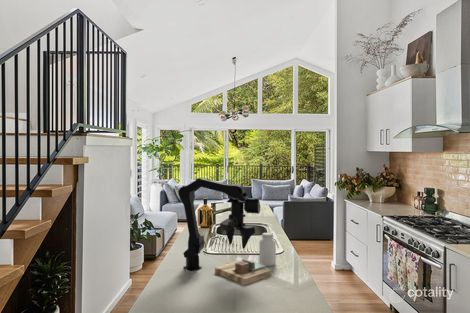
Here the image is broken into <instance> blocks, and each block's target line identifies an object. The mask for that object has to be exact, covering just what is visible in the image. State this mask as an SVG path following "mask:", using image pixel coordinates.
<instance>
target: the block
mask: <svg viewBox="0 0 470 313" xmlns="http://www.w3.org/2000/svg"><path fill="white" fill-rule="evenodd" d="M235 272H236V273H238V274H241V275H243V274H246V273H249V263H247V262H244V261H242V260H241V261H240V262H237V263H235Z"/></svg>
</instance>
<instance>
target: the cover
mask: <svg viewBox="0 0 470 313" xmlns="http://www.w3.org/2000/svg"><path fill="white" fill-rule="evenodd" d="M241 261H244V262H247V263H249V270H252V271H255V270H258V269H261V268H266V267H267V266H265V265H262V264H260V262H257V261H256V262H255V261H253V260H249V259H247V258H243V259H241Z"/></svg>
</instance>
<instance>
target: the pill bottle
mask: <svg viewBox="0 0 470 313" xmlns="http://www.w3.org/2000/svg"><path fill="white" fill-rule="evenodd" d="M261 237H262V238H261V239H259V264H262V265H265V266H266V267H272V266H275V265H276V263H277V258H276V257H277V254H276V252H277V248H276V245H277V244H276V240H275V239H274V234H273V233H272V232H263V233H262V234H261Z"/></svg>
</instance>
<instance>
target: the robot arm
mask: <svg viewBox="0 0 470 313" xmlns="http://www.w3.org/2000/svg"><path fill="white" fill-rule="evenodd" d="M201 188H204V189H207V190H212V191H216V192H220V193H224V194H225V195H226V196H228V197H229V198H228V200H226V203H231V204H230V205H231V206H230V207H231V209H230V213H229V215H228V218H226V219H224V220H223V221H221V222H220V223H219V227H220V229H221V230H222V231H223V232H224V233H225V235H226V237H227V240H228V244H229V245H232V244H233V239H234V234H235V230H237V231H239V232H240V234H239V235H240V237H241V246H242V249H246V246H247V244H248V242H249V240H250V238H251V237H252V235H254V234H256V228H255V226H251V225H246V223H245V222H244V220H245V217H246V214H244V212H245V213H247V214H255V215H256V214H260V213H261V203H260V198H257V197H256V198H250V197H249V195H248V194H247V192H246V189H245V187H244V185H242V184H235V183H234V184H233V183H231V184H230V183H229V184H228V183H224V182H219V181H214V180H211V179H206V178H204V177H198V178H197V179H195V180H194V181H192V182H191V183H189V184H187V185H183V186H181V187H180V188H179V189H178V191H177V194H178V196H179V200H180V202H181V203H182V204H183V208H184V213H185V218H186V219H185V220H186V225H187V229H188V230H187V231H188V239H187V249H186V250H184V252H183V253H182V254H183V257H184V258H185V265H184V266H183V269H184V270H187V271H189V272H193V271H197V270H199V269H202V268H203V267H202V266H200V256H199V254H201V251H202V250H203V249H205V245H206V241H205V236H204V235H201V234H200V232H199V228H198V226H199V225H198V221H197V216H196V210H195V204H194V202H195V198H196V196H195V195H196V191H198V190H200V189H201Z"/></svg>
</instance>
